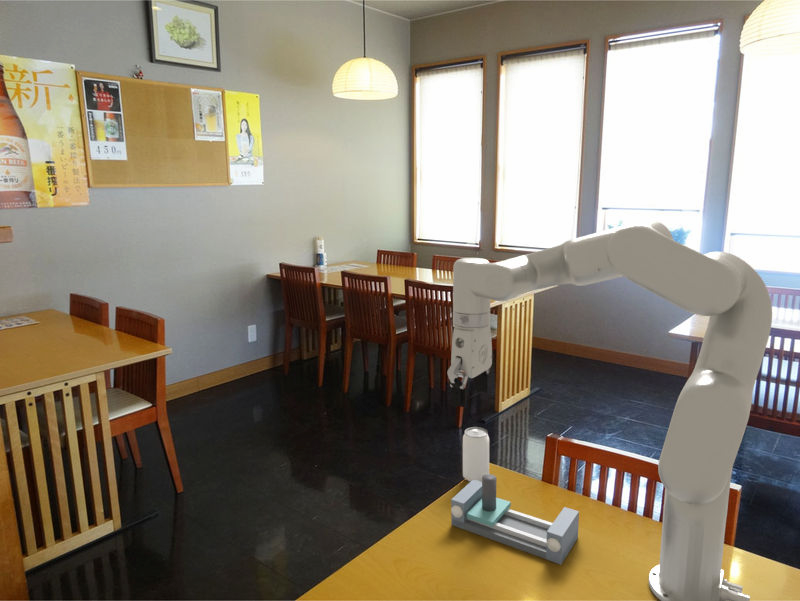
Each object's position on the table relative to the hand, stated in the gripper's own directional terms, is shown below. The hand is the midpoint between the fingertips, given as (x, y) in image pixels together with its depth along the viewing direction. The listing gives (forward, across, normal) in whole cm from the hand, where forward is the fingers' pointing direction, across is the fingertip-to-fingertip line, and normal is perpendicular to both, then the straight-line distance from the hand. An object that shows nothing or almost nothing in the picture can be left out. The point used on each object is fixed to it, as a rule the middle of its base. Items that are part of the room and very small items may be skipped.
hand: (470, 397), depth 119 cm
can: (+28, +16, +6) cm, 33 cm away
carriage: (+25, 0, -5) cm, 25 cm away
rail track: (+27, 0, -11) cm, 29 cm away
